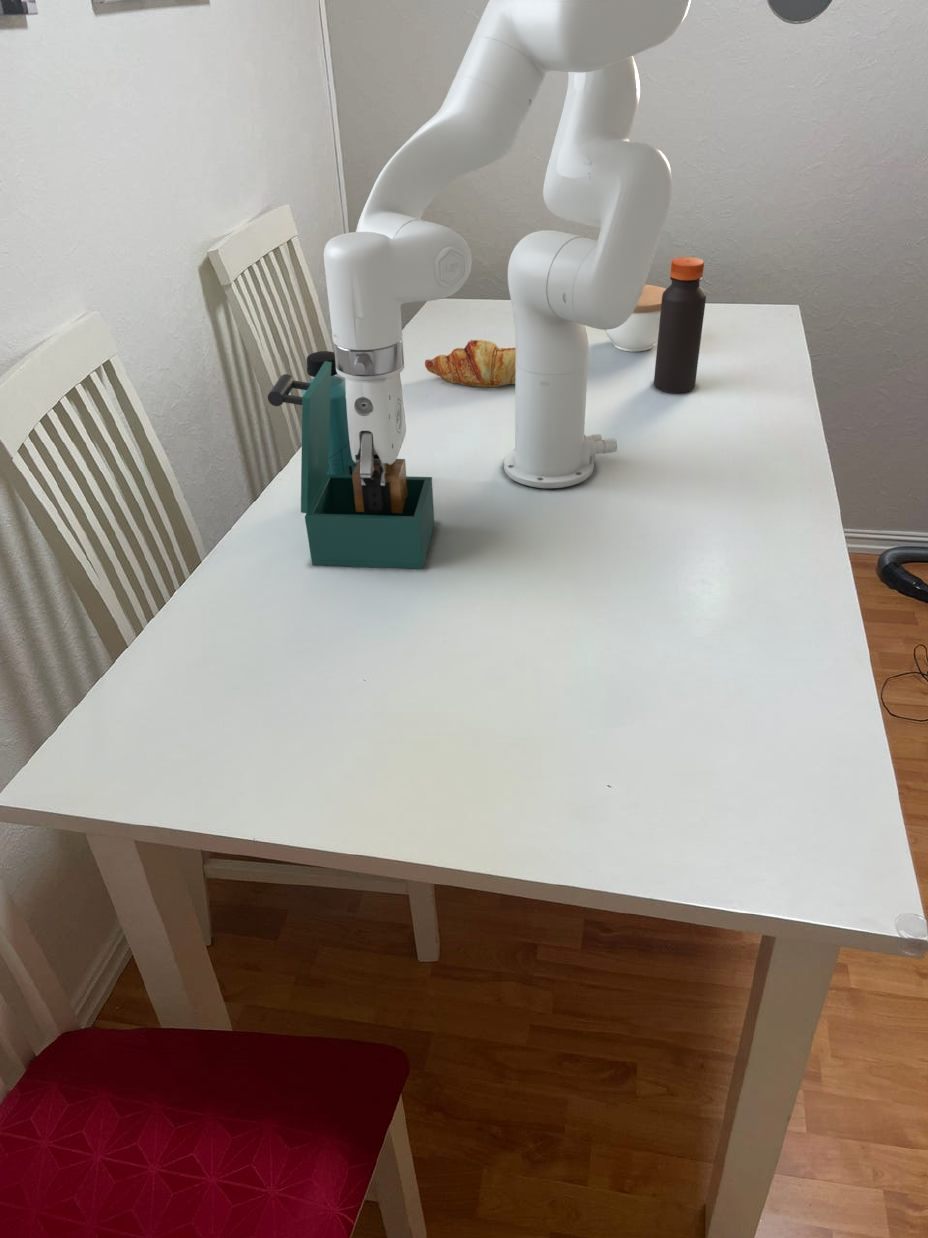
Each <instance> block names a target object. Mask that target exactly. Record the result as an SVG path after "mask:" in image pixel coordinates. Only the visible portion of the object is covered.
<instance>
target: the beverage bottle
mask: <svg viewBox="0 0 928 1238" xmlns="http://www.w3.org/2000/svg"><path fill="white" fill-rule="evenodd" d="M325 361H327V362H331V393H330V424H329V454H328V472H327V474H329V475H352V474H353V471H354V469H355V467H356V465H357V463H355V462H354V461H353V460H352V456H351V450H350V443H349V433H348V421H347V406H346V386H345V379H343V378H342V377H341V376H337V375H338V374H337V372H336V365H335V356H334V351H329V350H320V351H316V352H312V353H310V354H308V355H307V357H306V372H307V375H308V376H310V377H313V378H312V379H311V380H309V381H308V383H312V381H313V380H314V378H315V376H316V375H317V373H318V372H319V370H320V368H321V367H322V365H323V363H324V362H325ZM306 391H307V390H302V391H301V397H303V396H304V394H305V392H306Z"/></svg>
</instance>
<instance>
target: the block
mask: <svg viewBox="0 0 928 1238" xmlns="http://www.w3.org/2000/svg"><path fill="white" fill-rule="evenodd" d="M406 464H407V463H406V459H405V458H397V459H396V460H395V462H394V463H393V464H391V465H389V464H388V463H386V480H387V482H386V483H389V484H390V496H391V509H392V511H391V513H402V511H403V508H404V505H405V502H406V499H407V496H408V493H407V478H406V476H407V467H406ZM373 468H374V471H378V472H379V474H380V466H379V465H373ZM352 479H353V489H354V498H355V507H356V512H364V503H363V494H362V484H361V477H360V462H359V463H358V464H357V465H356V467H355V469H354V471H353V474H352Z"/></svg>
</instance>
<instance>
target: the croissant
mask: <svg viewBox="0 0 928 1238" xmlns="http://www.w3.org/2000/svg"><path fill="white" fill-rule="evenodd" d="M515 365H516V347H506V348H505V347H499V346H498V345H497V344H496V342H495V343H494V342H493V341H490V340H484V339H475V340H473V339H470V340H469V341H467V344H466V345H465V347H464V348H463V347H456V348H454V349H453V350H452V351H451V353H449V354H447V355H446V354H439V355H437V356H435V357H434V358H433V359H425V361H424V366H425V368H426V370H427V372H429V373H431V374H434V375H436V376H437V377H440V378H441V379H442V380H444V381H446V382H449V383H451V384H458V385H462V386H467V387H473V388H474V387H482V388H483V387H484V388H495V387H496V388H497V387H502V386H507V385H515Z"/></svg>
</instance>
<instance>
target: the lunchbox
mask: <svg viewBox="0 0 928 1238" xmlns="http://www.w3.org/2000/svg"><path fill="white" fill-rule="evenodd" d="M406 478H407V493H408V496H407V499H406V502H405V505H404V508H403V511H402V513H390V514H389V515H377V514H366V513H365V512H356V507H355V498H354V489H353V479H352V475H329V474H326V476H325V478H324V480H323V482H322V484H321V487H320V489H319V491H318V493H317V495H316V497H315V499H314V501H313V503H312V505H311V507H310V509H309V511H308V513H305V515H304V521H305V528H306V534H307V541H308V547H309V553H310V554H309V555H310V560H311V565H312V566H328V567H329V566H330V567H331V566H332V567H356V568H357V567H358V568H361V567H362V568H386V569H388V568H389V569H411V570H413V569H415V570H417V569H418V570H423V569H424V565H425V562H426V558H427V554H428V550H429V546H430V543H431V538H432V534H433V531H434V527H435V510H434V507H435V506H434V491H433V476H408V475H406Z"/></svg>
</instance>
